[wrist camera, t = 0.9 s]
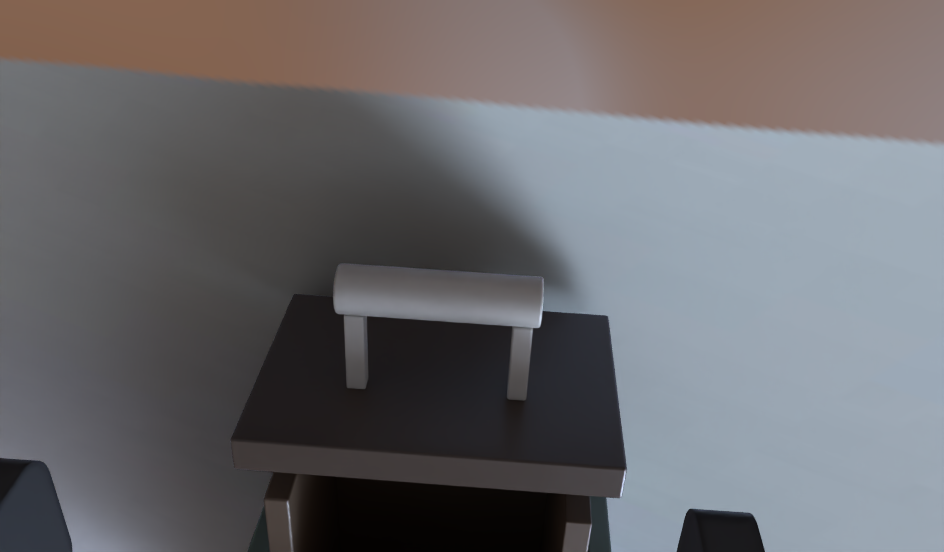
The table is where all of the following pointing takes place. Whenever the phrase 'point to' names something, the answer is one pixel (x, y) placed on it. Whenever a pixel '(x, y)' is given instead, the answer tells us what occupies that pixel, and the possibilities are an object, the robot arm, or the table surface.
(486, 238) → the table surface
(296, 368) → the drawer
